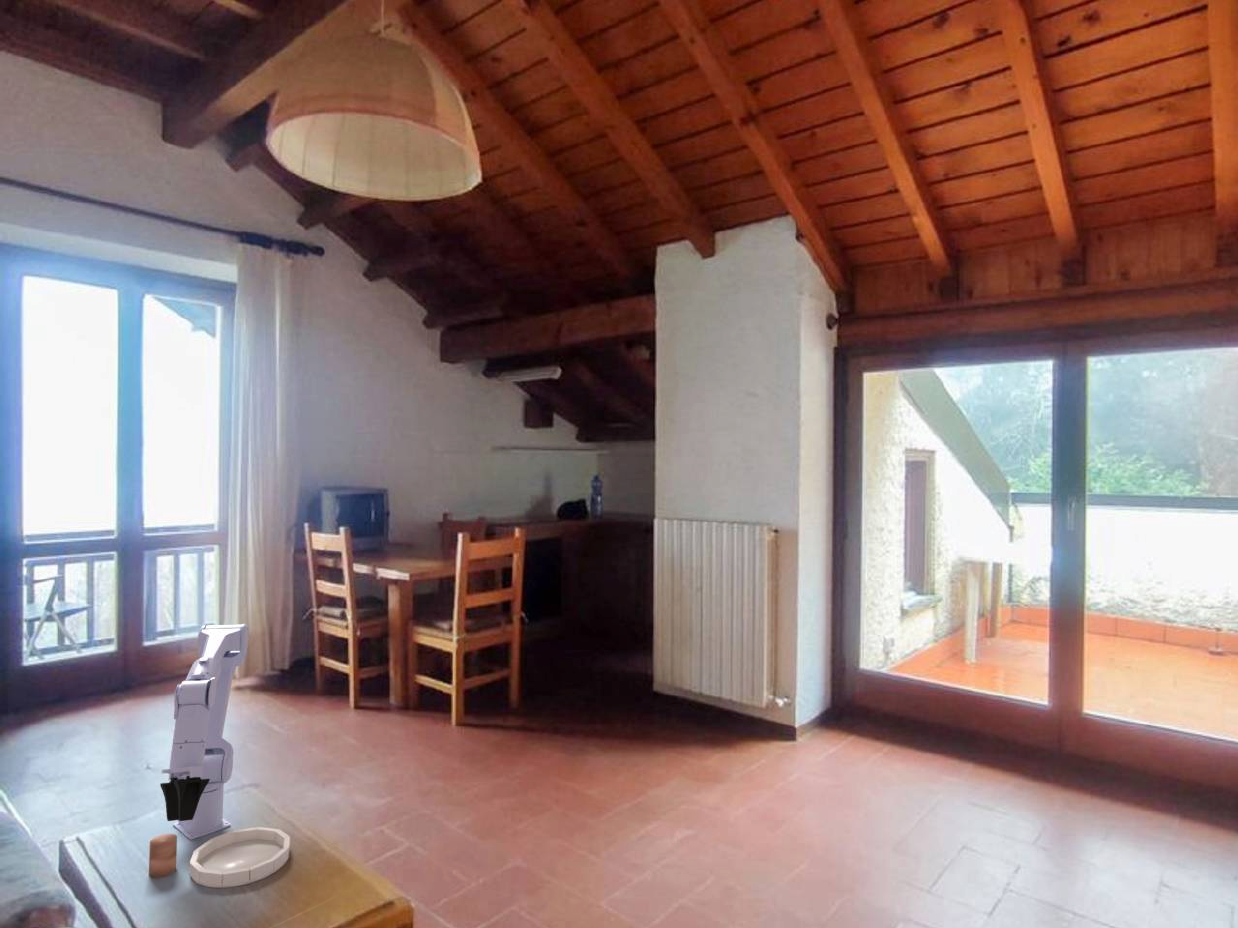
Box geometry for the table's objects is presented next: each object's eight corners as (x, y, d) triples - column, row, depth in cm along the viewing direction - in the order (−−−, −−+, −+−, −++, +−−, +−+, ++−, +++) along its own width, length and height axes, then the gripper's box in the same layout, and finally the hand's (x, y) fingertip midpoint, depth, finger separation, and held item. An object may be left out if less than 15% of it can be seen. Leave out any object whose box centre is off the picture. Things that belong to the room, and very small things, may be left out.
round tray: (175, 864, 140) (176, 850, 140) (264, 831, 153) (264, 819, 153) (214, 899, 130) (214, 884, 130) (305, 860, 143) (305, 847, 143)
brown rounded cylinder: (145, 871, 137) (146, 839, 138) (170, 862, 141) (171, 831, 141) (153, 880, 135) (154, 848, 135) (179, 870, 138) (180, 839, 138)
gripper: (155, 747, 144) (145, 823, 139) (177, 742, 134) (166, 823, 129) (195, 745, 149) (186, 818, 144) (218, 739, 139) (210, 818, 134)
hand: (179, 820), depth 137 cm, fingers open, 7 cm apart
